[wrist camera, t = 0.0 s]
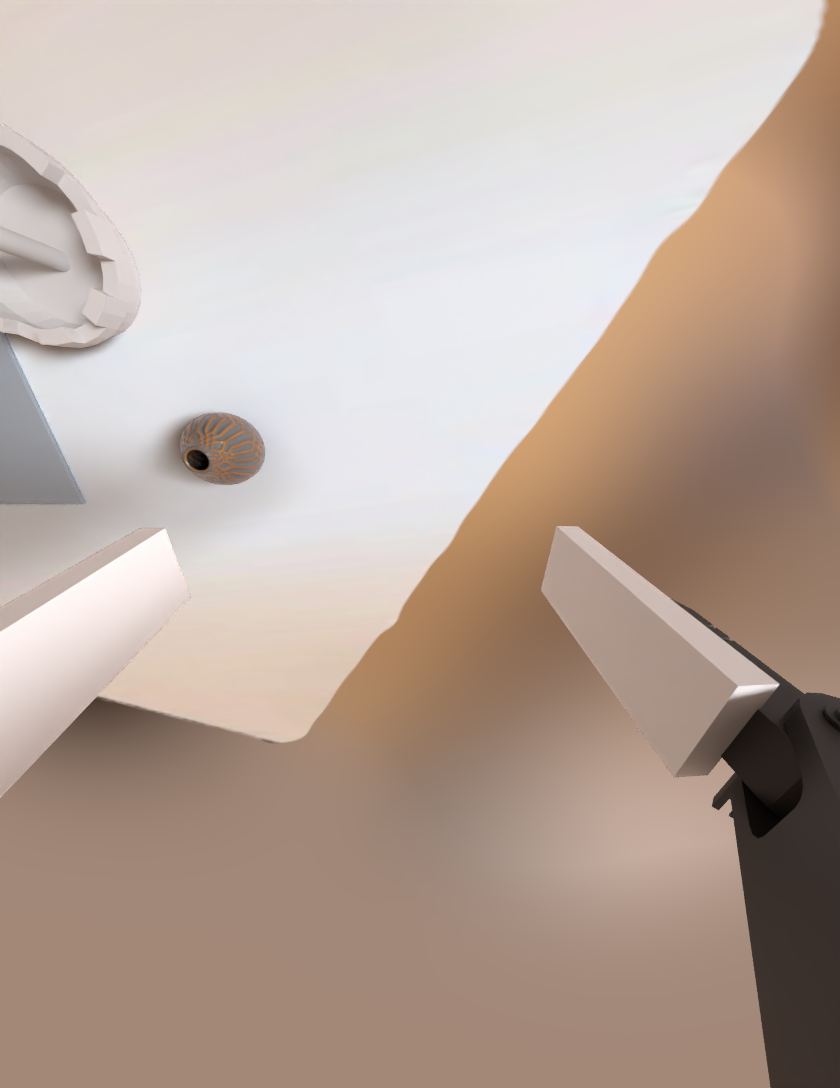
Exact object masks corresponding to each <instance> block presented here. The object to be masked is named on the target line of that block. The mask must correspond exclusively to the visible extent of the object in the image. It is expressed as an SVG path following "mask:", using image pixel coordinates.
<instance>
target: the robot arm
mask: <svg viewBox="0 0 840 1088" xmlns="http://www.w3.org/2000/svg"><path fill="white" fill-rule="evenodd" d="M541 591H542V592H543V594H544V595H545V597H546V598H547V600H548V601H549V602H550V604H551V605H552V607H553V608H554V609H555V611H556V612H557V613H558V615H559V616H560V618H561V619H562V621H563V622H564V624H565V625H566V626H567V628H568V629H569V631H570V632H571V633H572V635H573V636H574V638H575V639H576V640H577V642H578V643H579V645H580V646H581V648H582V649H583V650H584V652H585V653H586V654H587V656H588V657H589V659H590V660H591V662H592V663H593V664H594V666H595V667H596V669H597V670H598V671H599V673H600V674H601V676H602V677H603V679H604V680H605V681H606V683H607V684H608V685H609V687H610V688H611V690H612V691H613V693H614V694H615V695H616V697H617V698H618V700H619V701H620V703H621V704H622V705H623V707H624V708H625V710H626V711H627V712H628V714H629V715H630V717H631V718H632V719H633V721H634V722H635V724H636V725H637V727H638V728H639V729H640V731H641V732H642V734H643V735H644V736H645V738H646V739H647V741H648V742H649V743H650V745H651V746H652V748H653V749H654V751H655V752H656V753H657V755H658V756H659V757H660V759H661V760H662V762H663V763H664V765H665V766H666V767H667V769H668V770H669V772H670V773H671V774H672V776H673V777H687V776H701V775H708V774H709V773H710V772H711V770H712V769H713V768H714V767H715V765H716V764H717V763H718V762H719V760H720V759H721V758H723V759H724V760H725V761H726V762H727V763H728V765H729V766H730V767H731V768H732V769H733V770H734V771H735V773H734V774H733V775H732V777H731V778H730V779H729V780H728V781H727V782H726V784H725V785H724V786H723V787H722V788H721V789H720V791H719V792H718V793H717V794H716V796H714V799H713V804H712V807H714V808H716V809H718V810H719V809H720V808H721V807H722V806H723V805H724V804H725V803H726V802H727V800H728V799H731V804H732V812H731V813H730V814H729V816H730V817H732V818H734V826H735V833H736V840H737V847H738V855H739V862H740V869H741V876H742V884H743V890H744V898H745V905H746V913H747V920H748V927H749V934H750V942H751V949H752V956H753V963H754V971H755V977H756V985H757V992H758V999H759V1007H760V1013H761V1021H762V1029H763V1036H764V1043H765V1050H766V1057H767V1065H768V1072H769V1079H770V1087H771V1088H840V698H836V697H833V696H829V695H826V694H822V693H806V694H804V693H802V692H801V691H799V690H798V689H797V688H795V687H794V686H793V685H792V684H790V683H789V682H787V681H786V680H785V679H783V678H782V677H781V676H780V675H778V674H777V673H776V672H774V671H773V670H771V669H770V668H769V667H767V666H766V665H765V664H764V663H762V662H761V661H760V660H759V659H757V658H756V657H755V656H753V655H752V654H751V653H749V652H748V651H747V650H745V649H744V648H743V647H741V646H740V645H739V644H737V643H736V642H735V641H730V639H729V637H728V636H727V635H726V634H724V633H723V632H722V631H720V630H719V629H717V628H714V627H713V625H712V624H711V623H710V622H708V621H707V620H706V619H704V618H703V617H702V616H700V615H699V614H697V613H696V612H695V611H693V610H692V609H690V608H688V607H686V606H684V605H682V604H680V603H678V602H676V601H674V600H672V599H670V598H669V597H667V596H666V595H665V594H664V593H662V592H661V591H660V590H658V589H657V588H656V587H655V586H653V585H652V584H651V583H649V582H648V581H647V580H645V579H644V578H643V577H642V576H640V575H639V574H638V573H637V572H635V571H634V570H633V569H631V568H630V567H629V566H627V565H626V564H625V563H624V562H623V561H621V560H620V559H619V558H617V557H616V556H615V555H613V554H612V553H611V552H610V551H608V550H607V549H606V548H604V547H603V546H602V545H601V544H599V543H598V542H597V541H596V540H594V539H593V538H592V537H590V536H589V535H588V534H587V533H585V532H584V531H583V530H581V529H580V528H579V527H578V526H557V527H556V531H555V535H554V539H553V543H552V547H551V551H550V556H549V559H548V563H547V568H546V572H545V576H544V580H543V584H542V588H541ZM190 598H191V596H190V594H189V591H188V588H187V585H186V583H185V580H184V577H183V575H182V572H181V569H180V567H179V564H178V561H177V559H176V556H175V553H174V551H173V548H172V545H171V542H170V540H169V537H168V534H167V532H166V529H165V528H139V529H138V530H136V531H134V532H132V533H131V534H129V535H127V536H125V537H124V538H122V539H120V540H118V541H116V542H115V543H113V544H111V545H109V546H108V547H106V548H104V549H102V550H101V551H99V552H97V553H95V554H94V555H92V556H90V557H88V558H87V559H85V560H83V561H81V562H79V563H78V564H76V565H74V566H72V567H71V568H69V569H67V570H65V571H64V572H62V573H60V574H58V575H57V576H55V577H53V578H51V579H50V580H48V581H46V582H44V583H42V584H41V585H39V586H37V587H35V588H34V589H32V590H30V591H28V592H27V593H25V594H23V595H21V596H20V597H18V598H16V599H14V600H13V601H11V602H9V603H7V604H6V605H4V606H2V607H0V798H1V796H3V795H4V793H6V791H7V790H8V789H9V788H10V787H11V786H12V785H13V784H14V783H15V782H16V781H17V779H19V778H20V777H21V776H22V775H23V774H24V773H25V771H26V770H27V769H28V768H29V767H30V766H31V765H32V764H33V763H34V762H35V761H36V760H37V759H38V758H39V757H40V756H41V755H42V753H44V752H45V750H46V749H47V748H48V747H49V746H50V745H51V744H52V743H53V742H54V741H55V740H56V739H57V738H58V737H59V736H60V735H61V734H62V733H63V732H64V730H65V729H66V728H67V727H68V726H69V725H70V724H71V723H72V722H73V721H74V720H75V719H76V718H77V717H78V716H79V715H80V714H81V713H82V712H83V710H84V709H85V708H86V707H87V706H88V705H89V704H90V703H91V702H92V701H93V700H94V699H95V698H96V697H97V696H98V695H99V694H100V693H101V692H102V691H103V689H104V688H105V687H106V686H107V685H108V684H109V683H110V682H111V681H112V680H113V679H114V678H115V677H116V676H117V675H118V674H119V673H120V672H121V671H122V670H123V668H124V667H125V666H126V665H127V664H128V663H129V662H130V661H131V660H132V659H133V658H134V657H135V656H136V655H137V654H138V653H139V652H140V651H141V650H142V648H143V647H144V646H145V645H146V644H147V643H148V642H149V641H150V640H151V639H152V638H153V637H154V636H155V635H156V634H157V633H158V632H159V631H160V630H161V629H162V627H163V626H164V625H165V624H166V623H167V622H168V621H169V620H170V619H171V618H172V617H173V616H174V615H175V614H176V613H177V612H178V611H179V610H180V609H181V608H182V606H183V605H184V604H185V603H186V602H187V601H188V600H189V599H190Z"/></svg>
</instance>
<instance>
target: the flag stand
mask: <svg viewBox="0 0 840 1088" xmlns="http://www.w3.org/2000/svg"><path fill="white" fill-rule="evenodd" d="M140 303H141V285H140V278H139V273H138V269H137V266H136V263H135V259H134V257H133V255H132V253H131V251H130V248H129V246H128V244H127V242H126V241H125V239H124V237H123V236H122V234H121V233H120V231H119V229H118V228H117V227H116V225H115V224H114V223H113V222H112V220H111V219H110V218H109V217H108V215H107V214H106V213H105V212H104V211H103V210H102V209H101V208H100V207H99V206H98V204H97V202H96V201H95V200H94V199H93V197H92V196H91V195H90V194H89V192H88V191H87V190H86V189H85V188H84V186H83V185H82V184H81V183H80V181H79V180H77V179H76V178H75V177H74V176H73V175H72V174H71V173H70V172H69V171H68V170H67V169H66V168H65V167H64V166H63V165H62V164H61V163H60V162H58V161H57V160H56V159H54V158H53V157H51V156H50V155H49V154H47V153H46V152H45V151H43V150H42V149H41V148H39V147H38V146H36V145H35V144H33V143H32V142H30V141H29V140H27V139H26V138H24V137H23V136H21V135H20V134H18V133H17V132H15V131H14V130H12V129H11V128H9V127H8V126H6V125H5V124H4V126H2V125H0V331H1V332H3V333H11V334H18V335H20V336H23V337H25V338H28V339H30V340H33V341H35V342H39V343H40V344H41V345H50V346H59V347H73V348H84V347H89V346H94V345H97V344H99V343H101V342H103V341H105V340H107V339H109V338H110V337H113V336H116V335H118V334H120V333H122V332H124V331H125V330H126V329H127V328H128V327H129V326H130V325H131V324H132V323H133V321H134V320H135V318H136V316H137V314H138V310H139V307H140Z"/></svg>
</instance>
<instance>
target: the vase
mask: <svg viewBox="0 0 840 1088" xmlns="http://www.w3.org/2000/svg"><path fill="white" fill-rule="evenodd" d="M180 451H181V455H182V457H183V461H184V463H185V465H186V466H187V468H189V469H190V470H191V471H192V472H194V473H195V474H196V475H197V476H199V477H200V478H202V479H204V480H206V481H208V482H211V483H215V484H221V485H232V484H238V483H241V482H244V481H246V480H248V479H250V478H251V477H253V476H254V475H255V474H256V473H257V472H258V471H259V470H260V468H261V466H262V464H263V462H264V457H265V447H264V443H263V440H262V438H261V436H260V434H259V433H258V431H257V430H256V429H255V428H254V427H253V426H252V425H251V424H250V423H249V422H247V421H246V420H244V419H242V418H240V417H238V416H235V415H232V414H228V413H209V414H205V415H202V416H199V417H197V418H196V419H194V420H193V421H191V422H190V423H189V424H188V425H187V427H186V428H185V429H184V431H183V433H182V436H181V439H180Z"/></svg>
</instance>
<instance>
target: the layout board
mask: <svg viewBox="0 0 840 1088" xmlns="http://www.w3.org/2000/svg"><path fill="white" fill-rule="evenodd" d="M84 503H85V501H84V499H83V497H82V494H81V492H80V490H79V488H78V486H77V484H76V482H75V480H74V478H73V476H72V474H71V471H70V469H69V467H68V465H67V463H66V461H65V459H64V457H63V455H62V453H61V451H60V448H59V446H58V444H57V442H56V440H55V438H54V436H53V434H52V432H51V430H50V428H49V425H48V423H47V421H46V419H45V417H44V415H43V413H42V411H41V409H40V407H39V405H38V402H37V400H36V398H35V396H34V394H33V392H32V390H31V388H30V386H29V384H28V382H27V379H26V377H25V375H24V373H23V371H22V369H21V367H20V365H19V363H18V361H17V359H16V357H15V354H14V352H13V350H12V348H11V346H10V344H9V342H8V340H7V338H6V336H5V334H4V333H3V332H1V331H0V504H84Z"/></svg>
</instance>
